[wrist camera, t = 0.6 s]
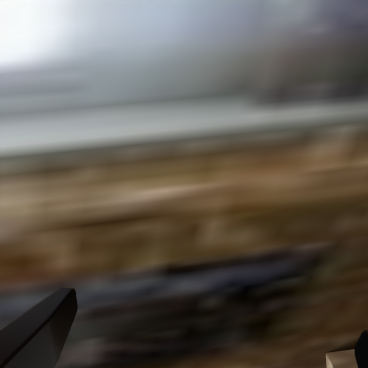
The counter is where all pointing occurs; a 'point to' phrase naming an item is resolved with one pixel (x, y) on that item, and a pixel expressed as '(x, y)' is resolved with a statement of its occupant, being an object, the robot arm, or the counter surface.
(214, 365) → the counter surface
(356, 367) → the maple block
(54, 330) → the robot arm
